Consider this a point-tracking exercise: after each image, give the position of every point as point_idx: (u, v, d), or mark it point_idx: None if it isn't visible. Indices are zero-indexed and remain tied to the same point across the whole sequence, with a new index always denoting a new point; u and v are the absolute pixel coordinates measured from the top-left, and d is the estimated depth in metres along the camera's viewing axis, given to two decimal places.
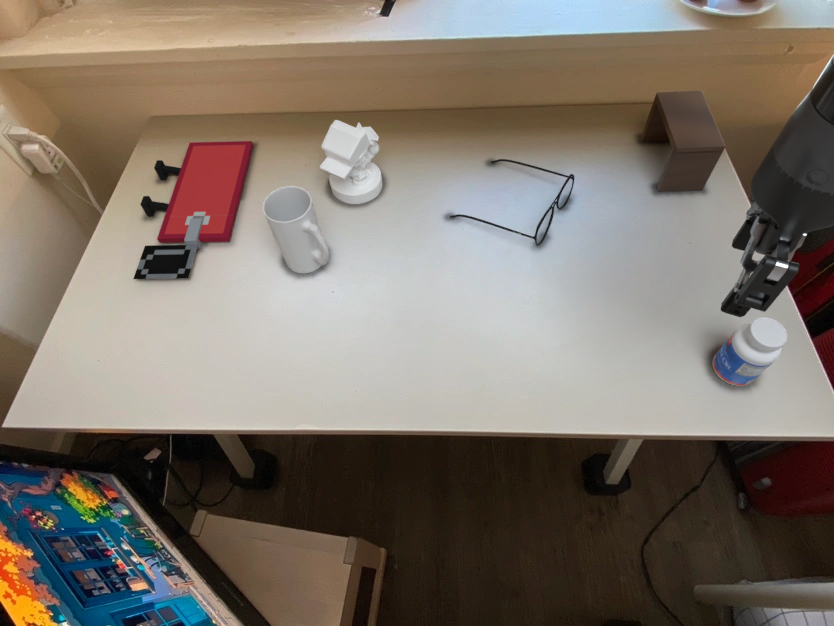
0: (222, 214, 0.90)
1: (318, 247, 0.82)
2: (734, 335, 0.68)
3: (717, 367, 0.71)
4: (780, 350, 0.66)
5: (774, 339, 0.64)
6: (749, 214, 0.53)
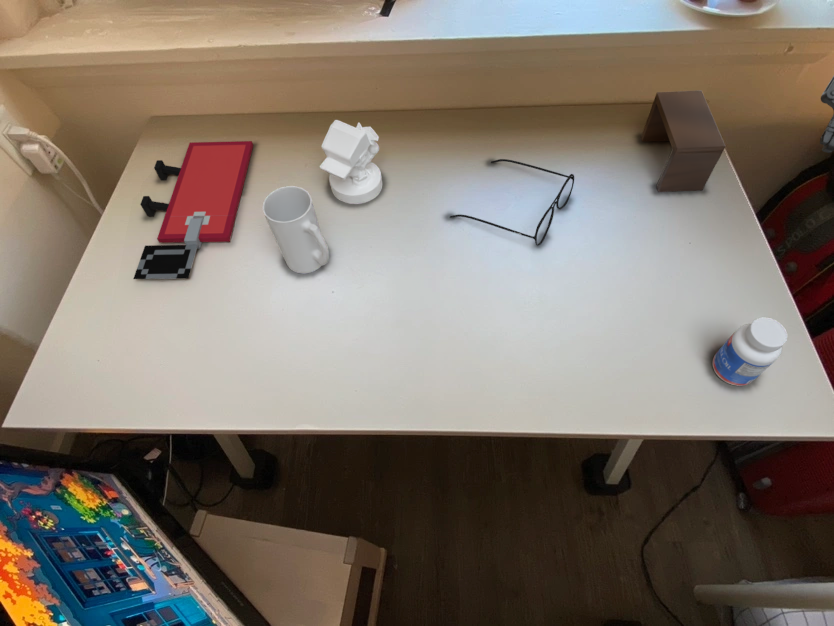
0: (222, 214, 0.90)
1: (318, 247, 0.82)
2: (734, 335, 0.68)
3: (717, 367, 0.71)
4: (780, 350, 0.66)
5: (774, 339, 0.64)
6: None
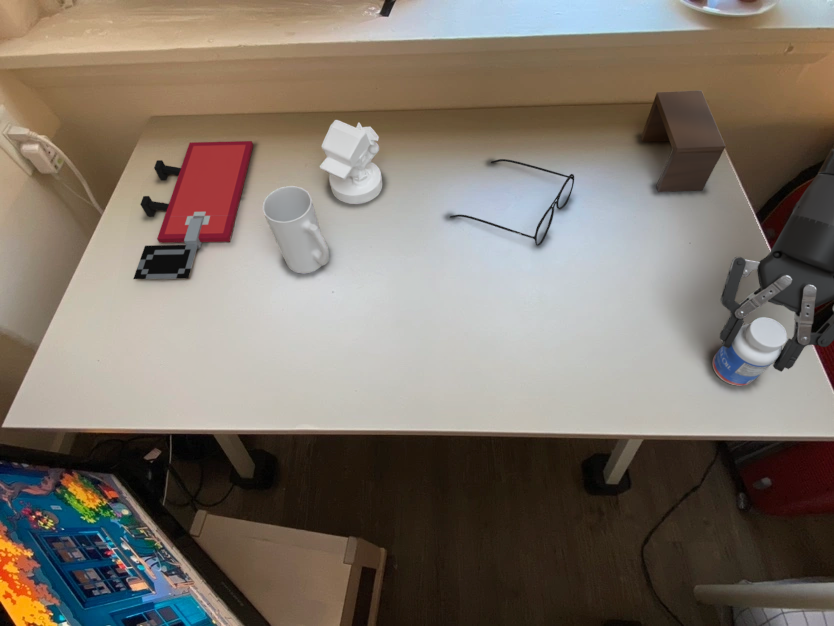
0: (222, 214, 0.90)
1: (318, 247, 0.82)
2: None
3: (717, 367, 0.71)
4: (780, 350, 0.66)
5: (774, 339, 0.64)
6: (794, 314, 0.66)
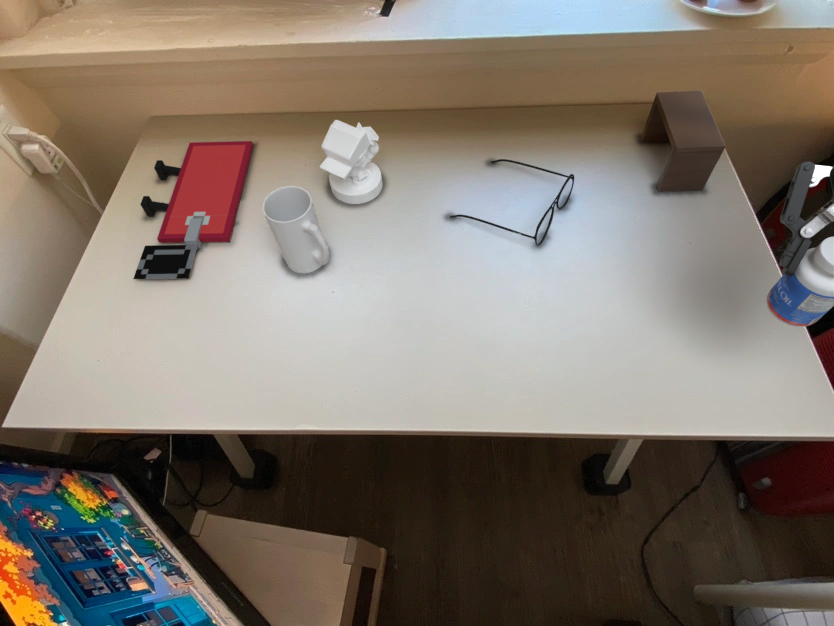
0: (222, 214, 0.90)
1: (318, 247, 0.82)
2: None
3: (773, 305, 0.59)
4: None
5: None
6: None
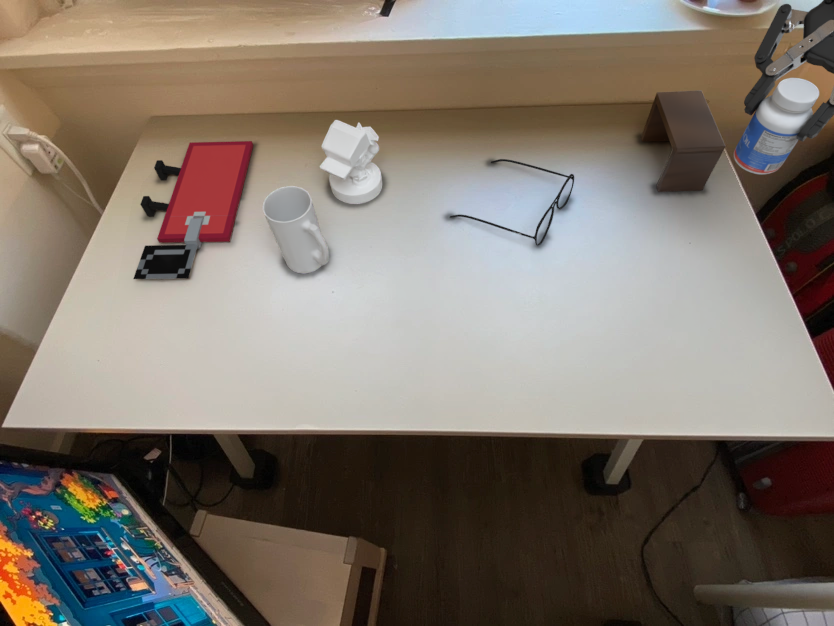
0: (222, 214, 0.90)
1: (318, 247, 0.82)
2: (761, 102, 0.61)
3: (737, 150, 0.65)
4: (808, 118, 0.59)
5: (802, 96, 0.57)
6: None
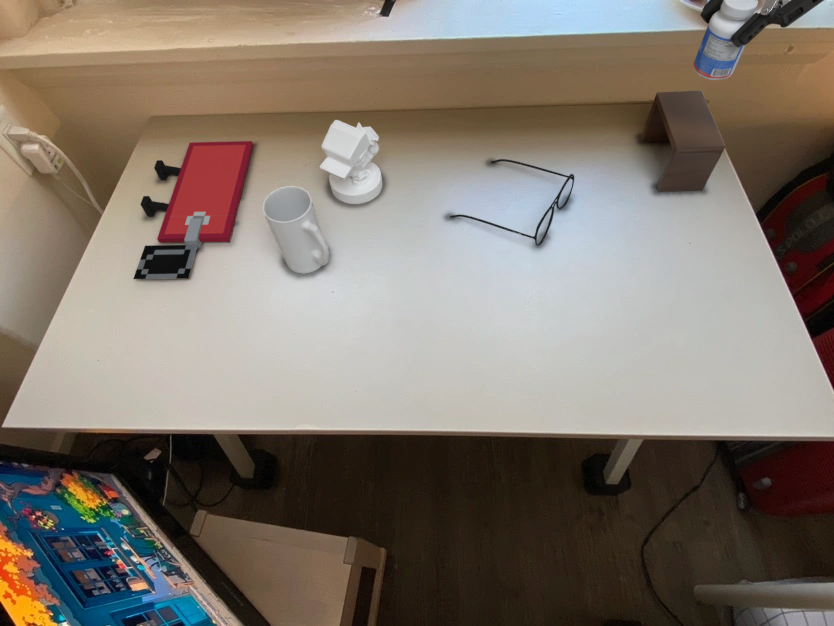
0: (222, 214, 0.90)
1: (318, 247, 0.82)
2: None
3: None
4: None
5: (740, 5, 0.70)
6: None
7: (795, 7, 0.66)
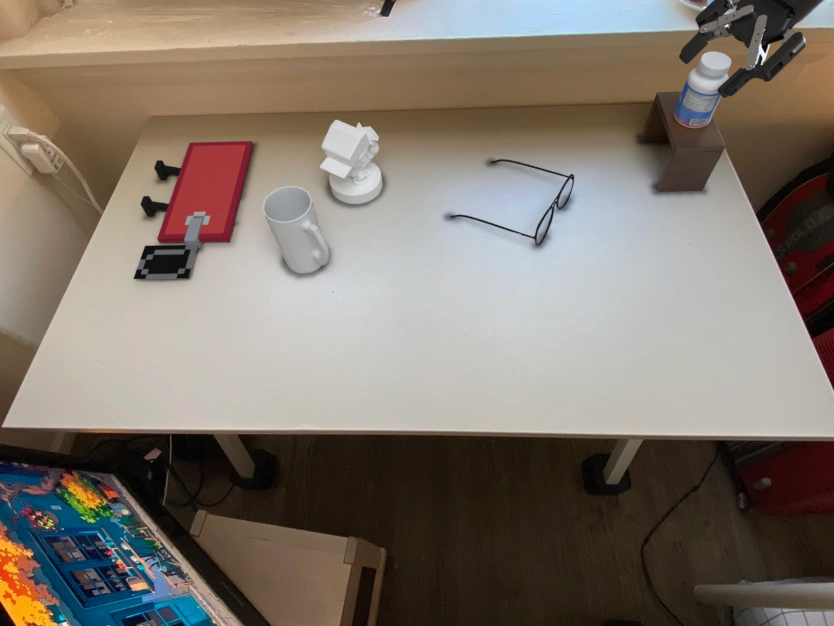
0: (222, 214, 0.90)
1: (318, 247, 0.82)
2: None
3: (676, 106, 0.85)
4: (720, 84, 0.78)
5: (715, 64, 0.76)
6: None
7: (775, 62, 0.71)
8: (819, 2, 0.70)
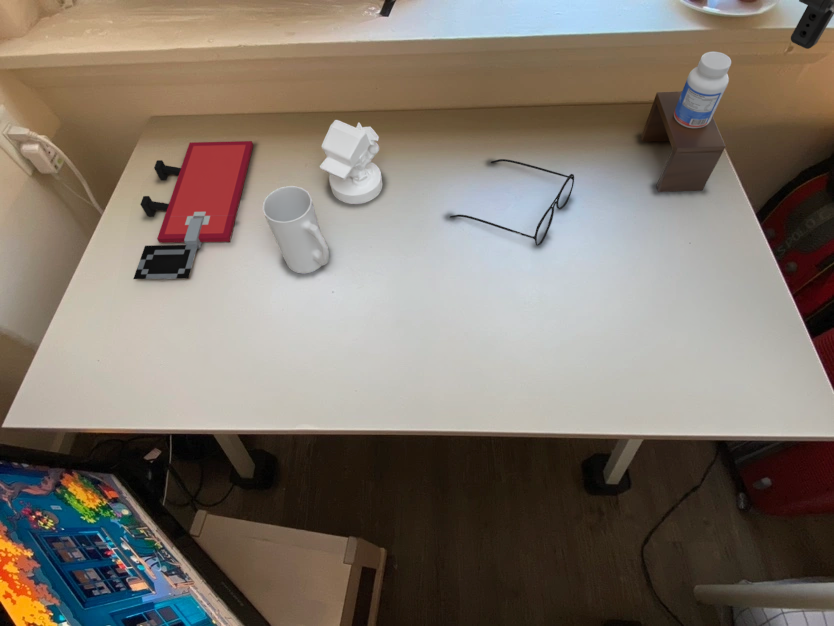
0: (222, 214, 0.90)
1: (318, 247, 0.82)
2: None
3: (676, 106, 0.85)
4: (720, 84, 0.78)
5: (715, 64, 0.76)
6: None
7: None
8: None
